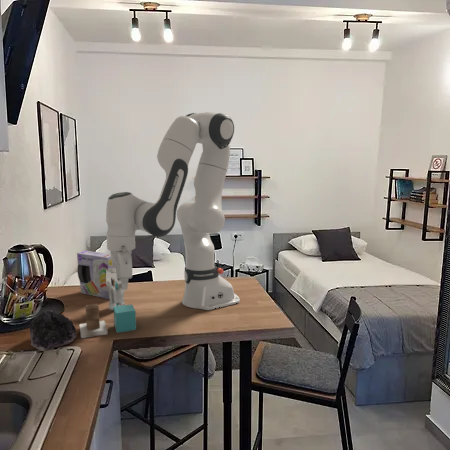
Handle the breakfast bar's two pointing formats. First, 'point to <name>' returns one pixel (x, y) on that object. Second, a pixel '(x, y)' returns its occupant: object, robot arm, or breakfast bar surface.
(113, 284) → the beer glass
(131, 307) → the turquoise cube
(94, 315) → the square base with post
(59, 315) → the dark grey rock
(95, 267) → the cake pan box
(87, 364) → the breakfast bar surface
